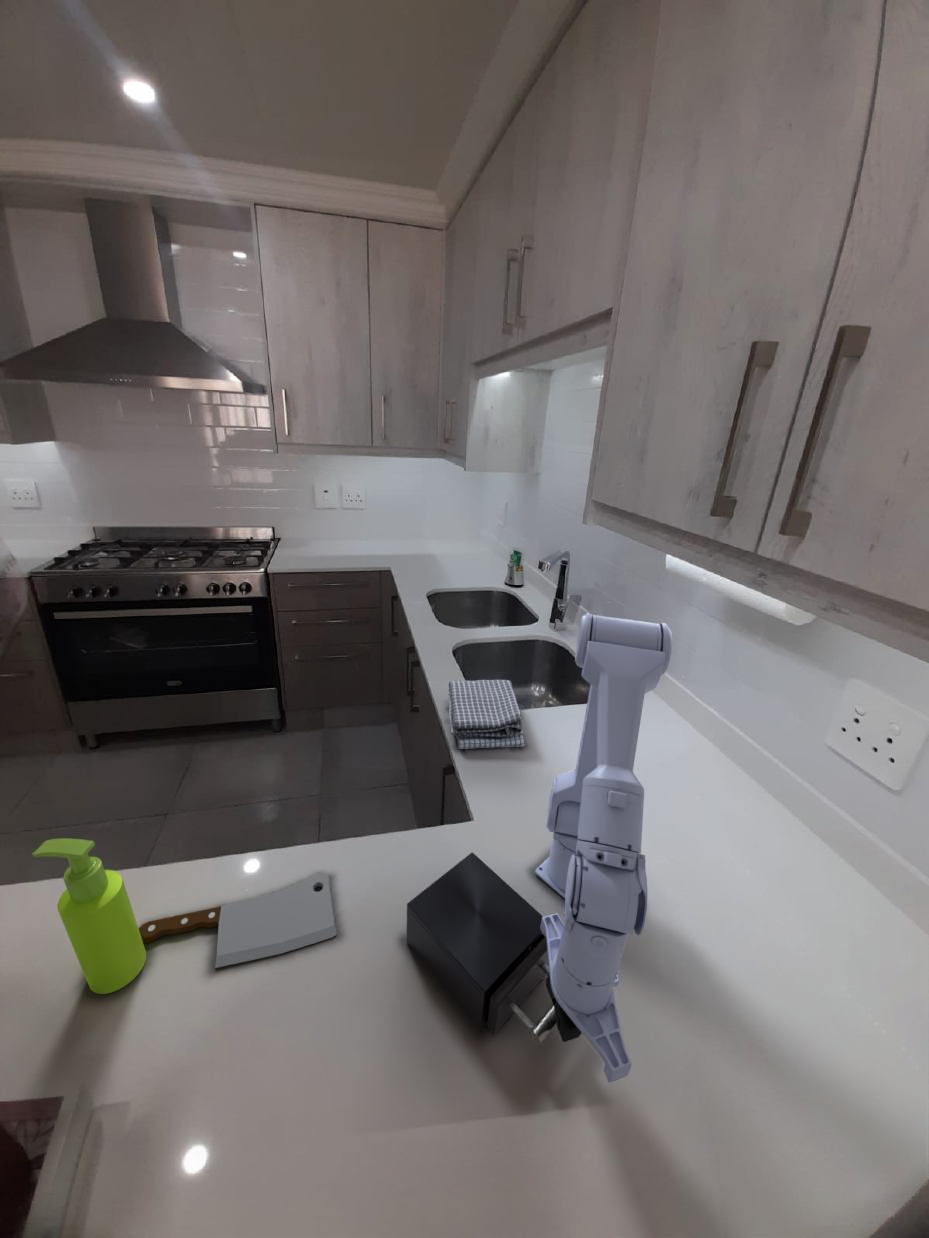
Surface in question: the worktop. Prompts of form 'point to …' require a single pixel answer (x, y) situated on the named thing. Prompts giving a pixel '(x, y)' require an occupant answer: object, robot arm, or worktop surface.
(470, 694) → the towel
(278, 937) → the kitchen cleaver
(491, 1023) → the drawer
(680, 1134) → the worktop surface
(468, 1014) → the black drawer cabinet
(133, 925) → the soap dispenser
